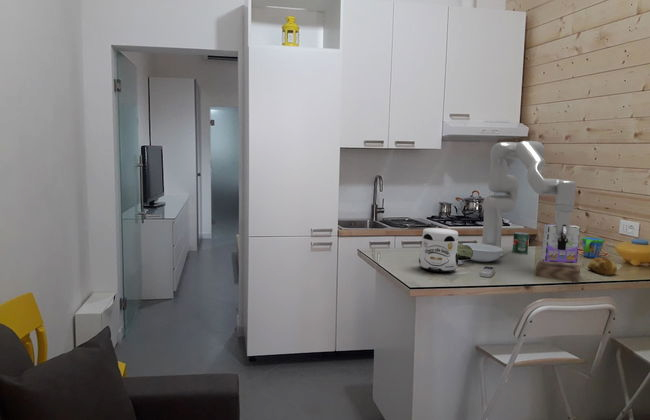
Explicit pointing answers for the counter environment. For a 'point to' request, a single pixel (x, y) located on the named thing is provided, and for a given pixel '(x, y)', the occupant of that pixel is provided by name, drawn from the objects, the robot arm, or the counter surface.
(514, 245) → the canned tomato
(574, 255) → the candy box
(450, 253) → the milk container
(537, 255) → the counter surface
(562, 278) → the walnut block
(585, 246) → the snack cup
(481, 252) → the serving bowl
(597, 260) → the bread roll
